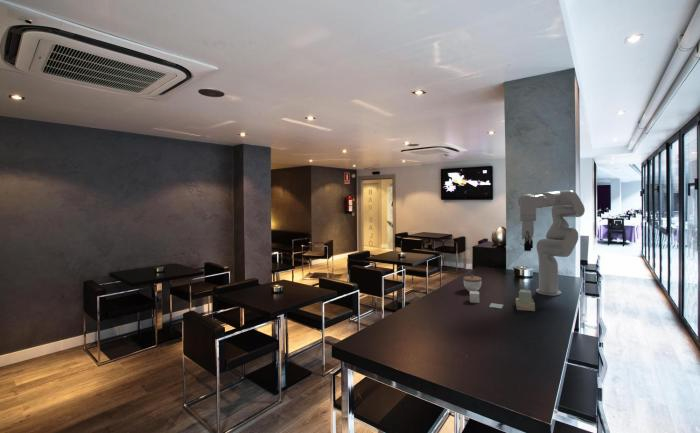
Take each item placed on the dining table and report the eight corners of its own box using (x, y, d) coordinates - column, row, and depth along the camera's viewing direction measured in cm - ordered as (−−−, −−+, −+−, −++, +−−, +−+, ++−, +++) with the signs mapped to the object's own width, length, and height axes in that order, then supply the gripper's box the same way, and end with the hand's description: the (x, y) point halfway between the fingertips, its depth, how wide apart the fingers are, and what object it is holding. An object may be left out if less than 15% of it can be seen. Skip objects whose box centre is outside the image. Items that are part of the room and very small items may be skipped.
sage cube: (520, 298, 175) (520, 289, 175) (531, 300, 172) (531, 290, 172) (519, 301, 171) (518, 291, 171) (529, 302, 168) (529, 293, 168)
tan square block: (515, 305, 177) (515, 297, 176) (532, 306, 174) (532, 299, 173) (517, 310, 169) (516, 302, 169) (534, 311, 166) (534, 303, 166)
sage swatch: (491, 303, 180) (491, 303, 180) (503, 305, 176) (503, 304, 176) (489, 307, 175) (489, 306, 175) (501, 308, 171) (501, 308, 171)
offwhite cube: (469, 299, 189) (469, 291, 188) (479, 300, 187) (478, 291, 187) (469, 302, 184) (469, 293, 184) (479, 303, 182) (479, 294, 182)
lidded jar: (459, 289, 209) (459, 275, 208) (472, 287, 213) (472, 272, 213) (472, 293, 199) (472, 278, 199) (485, 290, 204) (485, 275, 203)
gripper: (522, 217, 189) (522, 246, 190) (518, 219, 174) (518, 251, 175) (537, 216, 184) (537, 247, 185) (534, 219, 170) (535, 252, 171)
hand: (528, 249), depth 180 cm, fingers open, 9 cm apart
